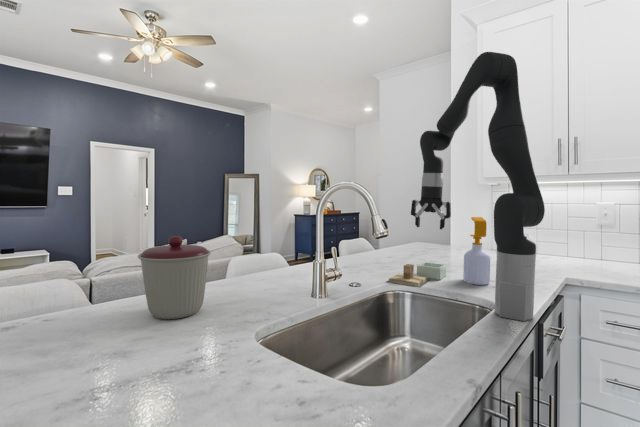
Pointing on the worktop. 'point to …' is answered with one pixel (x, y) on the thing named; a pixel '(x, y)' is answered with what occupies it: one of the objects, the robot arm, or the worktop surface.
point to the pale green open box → (431, 270)
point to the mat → (411, 285)
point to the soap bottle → (477, 257)
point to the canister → (174, 278)
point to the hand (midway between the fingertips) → (429, 228)
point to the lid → (408, 277)
